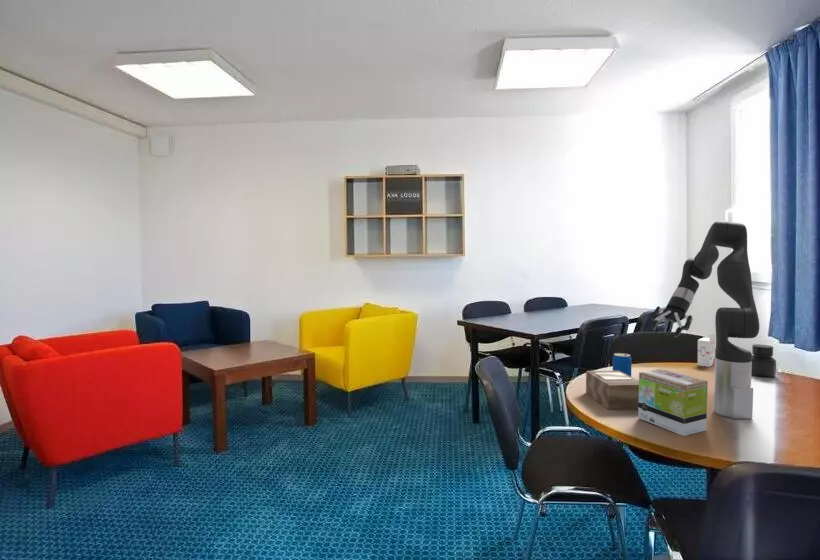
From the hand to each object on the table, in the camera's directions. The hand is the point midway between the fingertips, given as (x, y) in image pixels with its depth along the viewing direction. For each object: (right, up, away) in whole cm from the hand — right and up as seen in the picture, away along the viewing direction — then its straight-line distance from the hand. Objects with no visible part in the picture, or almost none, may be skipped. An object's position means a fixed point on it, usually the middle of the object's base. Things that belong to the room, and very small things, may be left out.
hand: (664, 333), depth 188 cm
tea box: (-28, -21, -54) cm, 64 cm away
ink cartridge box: (+28, -16, +17) cm, 37 cm away
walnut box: (-35, -20, -31) cm, 50 cm away
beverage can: (-24, -19, -14) cm, 33 cm away
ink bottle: (+40, -17, -1) cm, 43 cm away
